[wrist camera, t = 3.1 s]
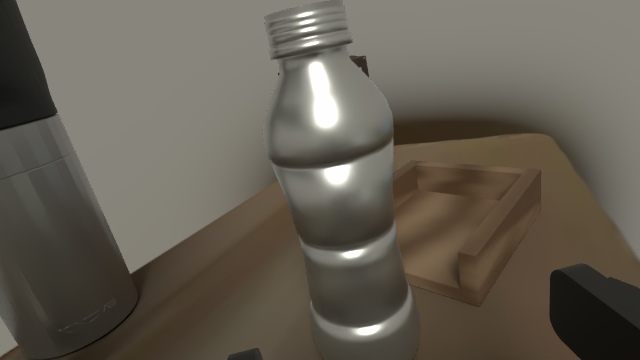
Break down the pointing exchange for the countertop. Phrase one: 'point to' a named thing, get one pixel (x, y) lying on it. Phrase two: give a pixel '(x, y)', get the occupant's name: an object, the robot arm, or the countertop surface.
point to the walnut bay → (461, 223)
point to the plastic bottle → (339, 186)
